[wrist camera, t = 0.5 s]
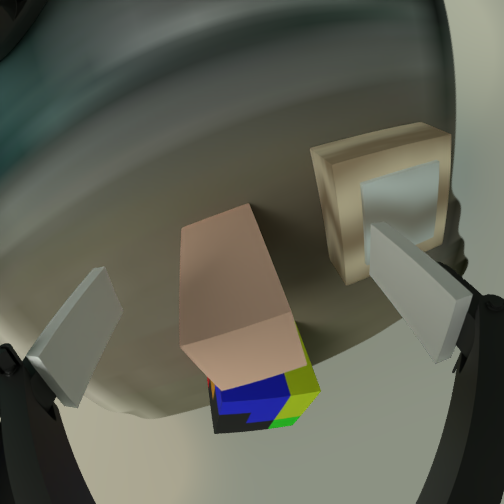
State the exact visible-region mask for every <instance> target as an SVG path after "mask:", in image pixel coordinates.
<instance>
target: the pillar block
mask: <svg viewBox="0 0 504 504" xmlns="http://www.w3.org/2000/svg"><path fill="white" fill-rule="evenodd" d="M179 340H180V348H181V349H182V350H183V351H184V352H185V353H186V354H187V355H188V356H189V358H190V359H191V360H192V361H193V362H194V363H195V364H196V365H197V366H198V367H199V368H200V369H201V370H202V371H203V373H204V374H205V375H206V376H207V377H208V378H209V379H210V380H211V381H212V382H213V383H214V384H215V385H216V386H217V387H218V388H219V389H220V390H221V391H223V390H227V389H231V388H235V387H239V386H242V385H246V384H249V383H253V382H256V381H260V380H263V379H266V378H270V377H273V376H276V375H279V374H282V373H285V372H288V371H291V370H294V369H297V368H300V367H303V366H306V365H307V362H306V359H305V355H304V352H303V348H302V345H301V342H300V338H299V335H298V332H297V328H296V325H295V322H294V318H293V315H292V312H291V309H290V306H289V304H288V301H287V298H286V296H285V293H284V291H283V288H282V286H281V283H280V280H279V278H278V275H277V273H276V270H275V268H274V265H273V262H272V260H271V257H270V255H269V252H268V250H267V247H266V245H265V242H264V240H263V237H262V235H261V232H260V230H259V227H258V224H257V222H256V219H255V217H254V214H253V212H252V209H251V207H250V204H249V203H247V204H244V205H242V206H239V207H236V208H233V209H230V210H228V211H225V212H222V213H219V214H217V215H214V216H211V217H209V218H206V219H203V220H201V221H198V222H195V223H193V224H190V225H188V226H185V227H182V229H181V250H180V284H179Z"/></svg>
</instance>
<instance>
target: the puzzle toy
mask: <svg viewBox="0 0 504 504" xmlns="http://www.w3.org/2000/svg"><path fill="white" fill-rule="evenodd" d="M294 322H295V321H294ZM295 325H296V323H295ZM296 328H297V325H296ZM297 332H298V335H299V338H300V342H301V345H302V348H303V352H304V355H305V359H306V362H307V365H306V366H303V367H300V368H297V369H294V370H291V371H288V372H285V373H282V374H279V375H276V376H273V377H270V378H266V379H263V380H260V381H256V382H253V383H249V384H246V385H242V386H239V387H235V388H231V389H227V390H223V391H221V390H220V389H219V388H218V387H217V386H216V385H215V384H214V383H213V382H212V381H211V380H210V379H209V378H208V377H207V381H208V389H209V398H210V406H211V413H212V421H213V428H214V433H215V434H219V433H232V432H233V433H234V432H245V431H254V430H263V429H271V428H278V427H283V426H291V425H293V424H294V423H295V422H296V421H297V419H298V418H299V417H300V416H301V415H302V414H303V412H304V411H305V410H306V409H307V408H308V406H309V405H310V404H311V403H312V402H313V400H314V399H315V398H316V396H318V394H319V393H320V392H321V390H320V387H319V384H318V382H317V379H316V376H315V373H314V370H313V368H312V365H311V362H310V360H309V357H308V354H307V352H306V349H305V346H304V344H303V341H302V338H301V336H300V333H299V330H298V328H297Z"/></svg>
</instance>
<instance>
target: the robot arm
mask: <svg viewBox="0 0 504 504" xmlns="http://www.w3.org/2000/svg"><path fill="white" fill-rule="evenodd" d="M46 1H47V0H0V61H1V60H2V59H3V58H4V57H5V56H6V55H7V54H8V53H9V52H10V51H11V50H12V49H13V48H14V47H15V45H16V44H17V43H18V42H19V41H20V40H21V38H22V37H23V36H24V35H25V33H26V32H27V31H28V29H29V28H30V27H31V25H32V24H33V22H34V21H35V19H36V18H37V16H38V15H39V13H40V12H41V10H42V8H43V7H44V5H45V3H46ZM369 275H370V276H371V277H372V278H373V280H374V281H375V282H376V283H377V285H378V286H379V287H380V288H381V290H382V291H383V292H384V294H385V295H386V296H387V298H388V299H389V300H390V301H391V303H392V304H393V305H394V307H395V308H396V309H397V311H398V312H399V313H400V315H401V316H402V317H403V319H404V320H405V321H406V323H407V324H408V326H409V327H410V328H411V330H412V331H413V333H414V334H415V335H416V337H417V338H418V340H419V341H420V342H421V344H422V345H423V347H424V348H425V350H426V351H427V353H428V354H429V356H430V357H431V358H432V360H433V361H434V363H435V364H437V363H439V362H441V361H444V360H446V359H449V358H451V356H452V354H453V351H454V349H455V346H456V345H457V347H458V348H459V349H460V351H461V353H460V355H459V357H458V360H457V362H456V364H455V366H454V369H453V371H452V373H454V372H455V371H456V376H455V382H454V387H453V392H452V397H451V402H450V406H449V411H448V415H447V419H446V422H445V426H444V430H443V433H442V437H441V440H440V444H439V446H438V449H437V452H436V455H435V458H434V461H433V464H432V467H431V470H430V472H429V475H428V477H427V480H426V482H425V484H424V487H423V489H422V491H421V494H420V496H419V498H418V500H417V502H416V504H500V503H501V499H502V495H503V492H504V299H503V298H501V297H499V296H496V295H490V294H487V295H484V296H483V295H481V294H480V293H479V292H478V291H477V290H476V289H475V288H474V287H473V286H471V285H470V284H469V283H468V282H467V281H466V280H464V279H463V278H462V277H461V276H460V275H459V274H457V273H456V272H455V271H454V270H453V269H452V268H450V267H449V266H447V265H445V264H443V263H441V262H435V261H434V260H433V259H432V258H431V257H429V256H428V255H427V254H426V253H424V252H423V251H422V250H421V249H419V248H418V247H417V246H416V245H414V244H413V243H412V242H411V241H409V240H408V239H407V238H405V237H404V236H403V235H401V234H400V233H399V232H397V231H396V230H395V229H393V228H392V227H391V226H389V225H388V224H387V223H385V222H380V223H373V224H371V241H370V269H369ZM122 313H123V309H122V307H121V304H120V302H119V300H118V297H117V295H116V293H115V290H114V288H113V285H112V283H111V280H110V278H109V275H108V273H107V270H106V268H105V267H100V268H94V269H93V270H92V271H91V272H90V273H89V274H88V275H87V277H86V278H85V279H84V280H83V281H82V282H81V284H80V285H79V286H78V287H77V288H76V290H75V291H74V292H73V293H72V294H71V296H70V297H69V298H68V299H67V301H66V302H65V303H64V304H63V306H62V307H61V308H60V309H59V311H58V312H57V313H56V315H55V316H54V317H53V319H52V320H51V321H50V323H49V324H48V325H47V327H46V328H45V329H44V331H43V332H42V333H41V335H40V336H39V338H38V339H37V340H36V342H35V343H34V345H33V346H32V347H31V349H30V350H29V352H28V353H27V355H26V356H25V358H24V359H23V361H21V359H20V358H19V356H18V355H17V353H16V352H15V350H14V349H13V347H12V346H11V344H9V343H5V344H2V345H1V346H0V418H1V422H0V504H96V503H95V501H94V499H93V497H92V495H91V493H90V491H89V489H88V487H87V485H86V483H85V481H84V478H83V476H82V474H81V472H80V469H79V467H78V464H77V462H76V460H75V457H74V455H73V452H72V449H71V446H70V444H69V441H68V439H67V435H66V432H65V429H64V426H63V423H62V420H61V416H60V413H59V409H58V407H57V405H56V404H55V403H54V400H55V398H56V397H57V398H58V399H59V400H60V401H61V403H62V404H63V405H64V406H68V407H74V408H78V406H79V404H80V401H81V399H82V396H83V394H84V392H85V390H86V388H87V385H88V383H89V381H90V379H91V376H92V374H93V372H94V370H95V368H96V365H97V363H98V361H99V359H100V357H101V355H102V353H103V351H104V349H105V347H106V345H107V343H108V341H109V339H110V337H111V335H112V333H113V331H114V329H115V327H116V325H117V323H118V321H119V319H120V317H121V315H122ZM456 369H457V370H456Z"/></svg>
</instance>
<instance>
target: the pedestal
mask: <svg viewBox="0 0 504 504" xmlns="http://www.w3.org/2000/svg"><path fill="white" fill-rule="evenodd" d="M310 153H311V158H312V162H313V167H314V172H315V177H316V182H317V187H318V192H319V198H320V203H321V209H322V215H323V221H324V227H325V233H326V239H327V246H328V253H329V259H330V261H331V262H332V264H333V265H334V267H335V269H336V270H337V272H338V273H339V275H340V277H341V278H342V280H343V281H344V283H345V285H346V286H347V285H350V284H352V283H355V282H357V281H360V280H362V279H365V278H367V277H369V276H370V275H369V269H370V241H371V224H373V223H380V222H385V223H387V224H388V225H389V226H391V227H392V228H393V229H395V230H396V231H397V232H399V233H400V234H401V235H403V236H404V237H405V238H407V239H408V240H409V241H411V242H412V243H413V244H414V245H416V246H417V247H418V248H419V249H421V250H422V251H423V252H426V251H428V250H430V249H432V248H434V247H436V246H438V245H441V244H442V241H443V235H444V229H445V222H446V214H447V206H448V196H449V184H450V168H451V134H449V133H447V132H444V131H442V130H440V129H437V128H435V127H432V126H430V125H427V124H425V123H422V122H418V123H412V124H407V125H402V126H397V127H392V128H388V129H383V130H379V131H374V132H370V133H366V134H361V135H357V136H353V137H349V138H345V139H341V140H338V141H334V142H330V143H326V144H323V145H319V146H316V147H312V148H310Z"/></svg>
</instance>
